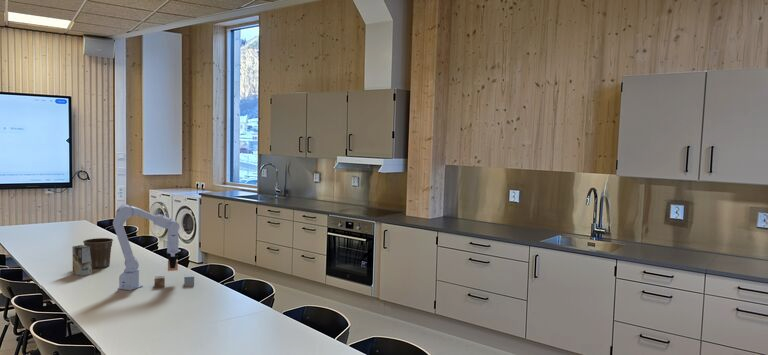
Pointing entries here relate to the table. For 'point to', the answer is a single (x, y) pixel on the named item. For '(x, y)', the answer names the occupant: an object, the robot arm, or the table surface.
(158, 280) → the walnut block
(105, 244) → the plant pot
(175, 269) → the orange block
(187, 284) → the slate block
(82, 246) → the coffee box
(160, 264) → the table surface
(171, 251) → the robot arm
